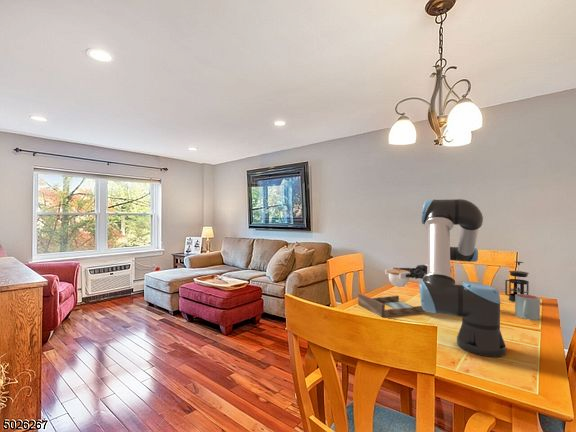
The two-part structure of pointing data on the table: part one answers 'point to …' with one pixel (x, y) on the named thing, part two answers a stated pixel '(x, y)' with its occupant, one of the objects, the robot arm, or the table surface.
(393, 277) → the lidded jar
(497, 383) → the table surface
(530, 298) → the mug
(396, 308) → the bay
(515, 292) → the french press
